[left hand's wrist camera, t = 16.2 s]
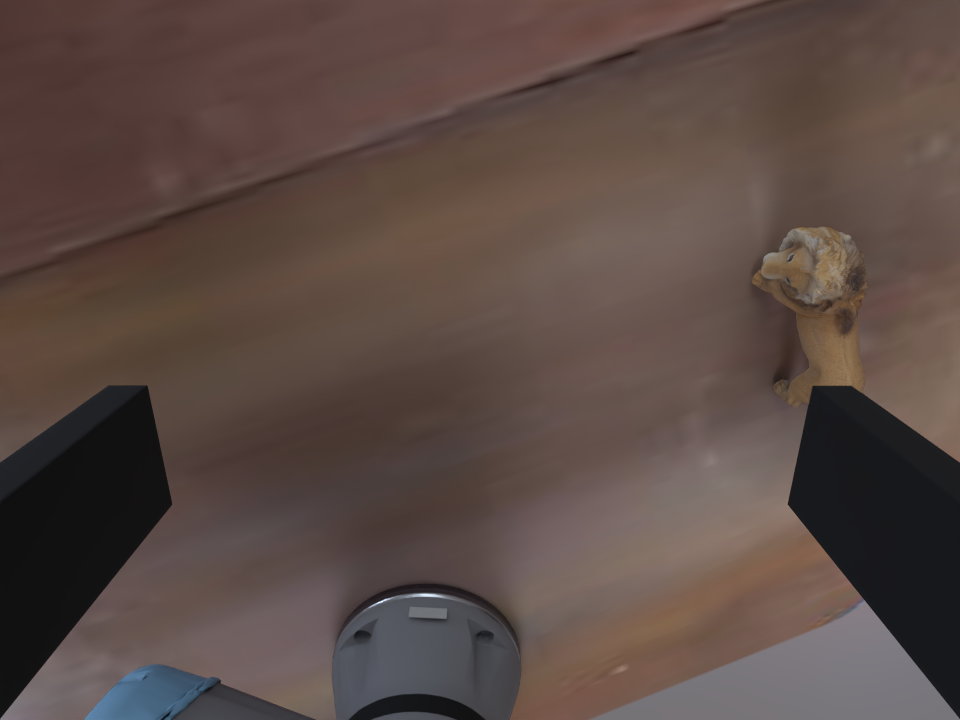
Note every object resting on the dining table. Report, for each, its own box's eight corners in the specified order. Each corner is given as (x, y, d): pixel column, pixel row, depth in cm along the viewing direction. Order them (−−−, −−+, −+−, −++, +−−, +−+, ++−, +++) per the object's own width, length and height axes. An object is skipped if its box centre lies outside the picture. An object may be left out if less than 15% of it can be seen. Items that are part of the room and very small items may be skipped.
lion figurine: (711, 232, 39) (774, 262, 31) (793, 192, 38) (882, 212, 30) (782, 419, 44) (853, 490, 35) (856, 387, 43) (948, 452, 34)
